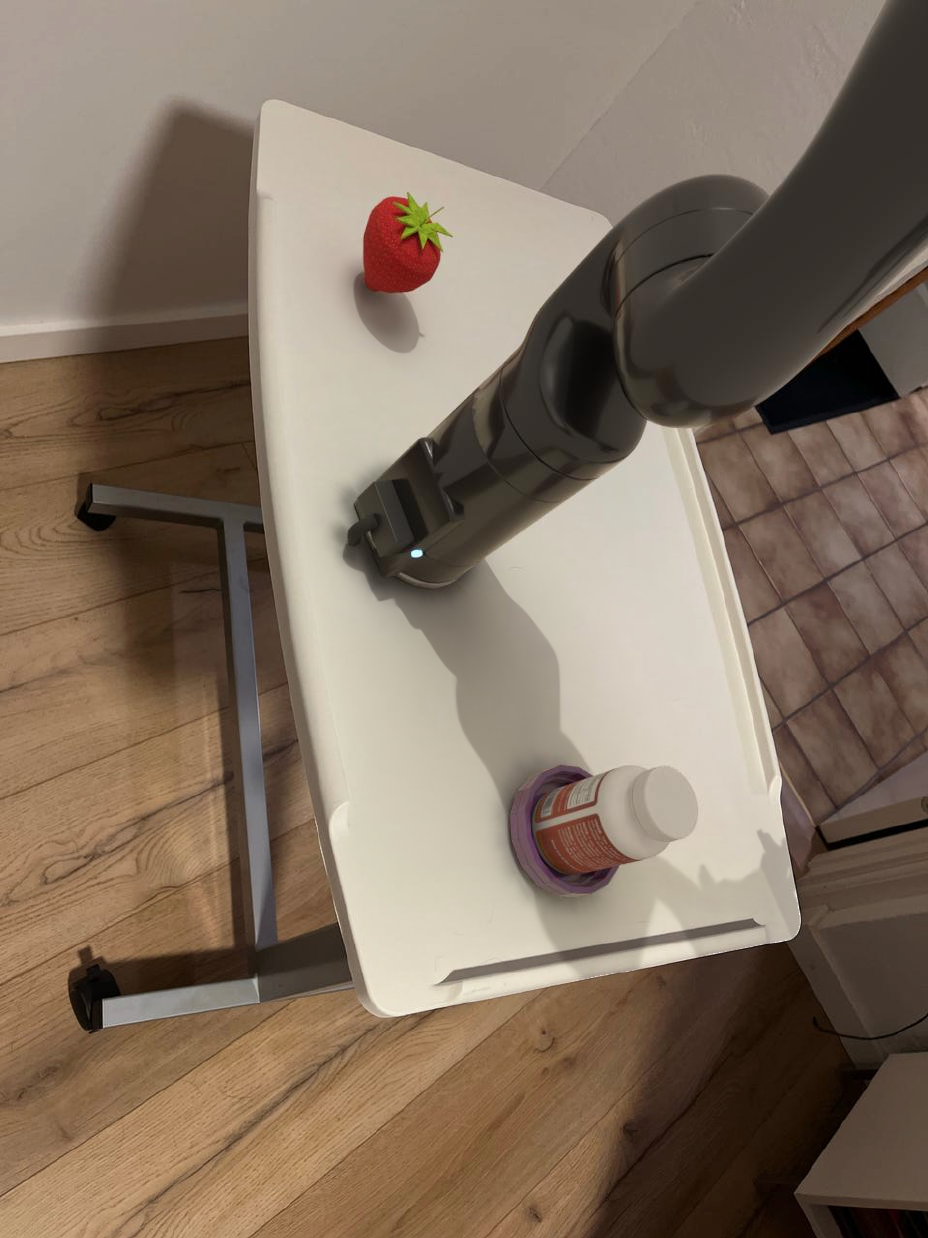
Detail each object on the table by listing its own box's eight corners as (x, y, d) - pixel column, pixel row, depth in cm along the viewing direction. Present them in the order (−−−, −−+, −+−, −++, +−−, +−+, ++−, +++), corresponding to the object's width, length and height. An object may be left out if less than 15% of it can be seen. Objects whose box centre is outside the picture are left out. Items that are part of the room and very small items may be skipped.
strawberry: (389, 254, 78) (452, 169, 70) (411, 329, 76) (478, 251, 68) (329, 241, 74) (388, 150, 67) (350, 319, 72) (414, 235, 65)
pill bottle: (599, 877, 66) (715, 853, 57) (532, 876, 63) (644, 851, 54) (589, 792, 68) (699, 757, 60) (524, 786, 65) (631, 749, 56)
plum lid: (535, 917, 62) (555, 914, 60) (488, 793, 64) (506, 786, 62) (619, 870, 68) (640, 866, 66) (574, 757, 69) (593, 750, 68)
